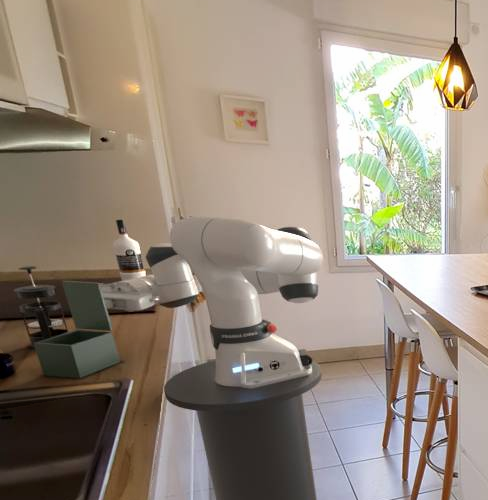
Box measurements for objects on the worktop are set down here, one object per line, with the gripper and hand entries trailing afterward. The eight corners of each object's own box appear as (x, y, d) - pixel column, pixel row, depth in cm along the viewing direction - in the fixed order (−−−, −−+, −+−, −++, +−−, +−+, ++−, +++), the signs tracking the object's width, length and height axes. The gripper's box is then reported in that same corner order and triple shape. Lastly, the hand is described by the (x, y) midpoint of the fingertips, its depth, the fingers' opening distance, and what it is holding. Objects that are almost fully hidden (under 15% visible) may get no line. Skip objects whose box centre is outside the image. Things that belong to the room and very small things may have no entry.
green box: (80, 378, 140) (70, 345, 137) (43, 375, 141) (33, 343, 138) (120, 362, 151) (112, 331, 148) (86, 359, 152) (77, 329, 149)
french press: (32, 341, 165) (7, 265, 156) (72, 336, 170) (50, 262, 162) (29, 352, 156) (3, 271, 148) (71, 346, 162) (48, 269, 153)
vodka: (151, 293, 226) (133, 218, 215) (153, 297, 219) (135, 220, 208) (123, 296, 220) (103, 218, 209) (125, 300, 213) (105, 221, 202)
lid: (97, 283, 143) (99, 282, 143) (61, 281, 144) (63, 280, 144) (110, 330, 148) (113, 330, 148) (75, 328, 149) (78, 327, 149)
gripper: (166, 308, 159) (127, 320, 147) (102, 304, 161) (58, 315, 149) (161, 286, 157) (121, 297, 144) (96, 282, 159) (51, 292, 146)
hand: (89, 306), depth 147 cm, fingers closed, pressing on lid
